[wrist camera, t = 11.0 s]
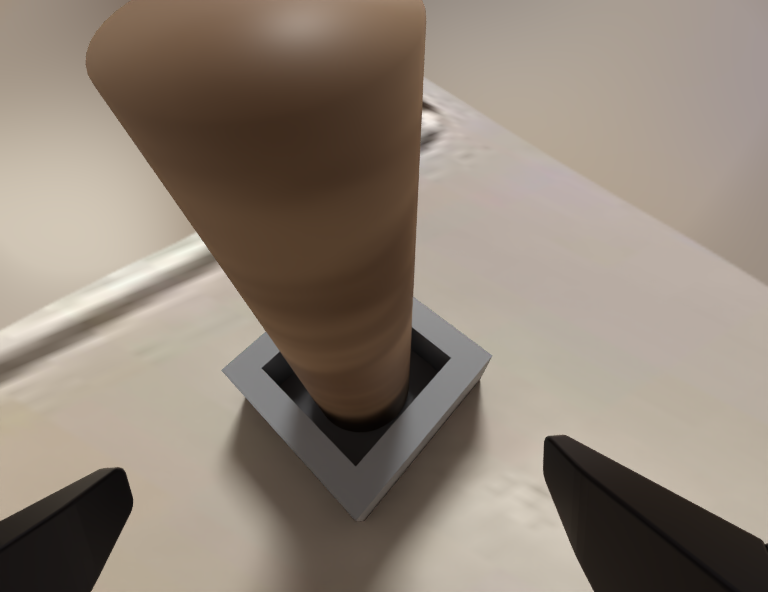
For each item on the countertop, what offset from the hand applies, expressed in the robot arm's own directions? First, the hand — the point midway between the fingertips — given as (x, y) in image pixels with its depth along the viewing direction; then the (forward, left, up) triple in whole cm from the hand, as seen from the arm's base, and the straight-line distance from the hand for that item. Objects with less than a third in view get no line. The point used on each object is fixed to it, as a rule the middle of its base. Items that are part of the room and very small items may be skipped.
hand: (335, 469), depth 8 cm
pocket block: (+3, +4, -9) cm, 10 cm away
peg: (+3, +3, -9) cm, 10 cm away
